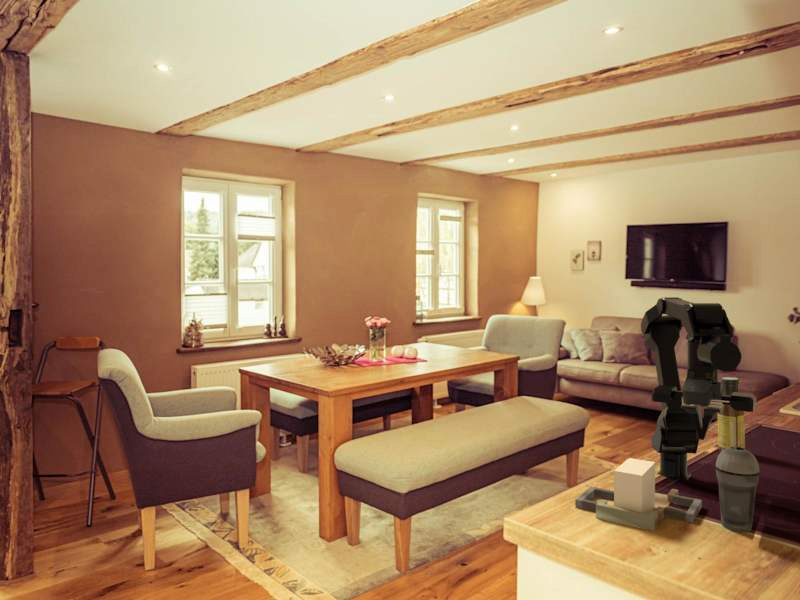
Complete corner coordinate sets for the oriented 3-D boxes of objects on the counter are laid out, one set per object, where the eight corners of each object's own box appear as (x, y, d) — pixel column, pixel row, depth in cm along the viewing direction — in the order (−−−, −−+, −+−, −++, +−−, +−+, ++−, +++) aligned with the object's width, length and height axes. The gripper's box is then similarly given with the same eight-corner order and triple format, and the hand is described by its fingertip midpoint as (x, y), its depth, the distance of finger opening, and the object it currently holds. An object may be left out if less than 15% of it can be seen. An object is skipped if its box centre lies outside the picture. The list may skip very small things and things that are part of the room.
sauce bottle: (738, 449, 163) (739, 376, 163) (749, 456, 157) (750, 380, 156) (712, 449, 164) (713, 376, 163) (722, 455, 158) (724, 379, 157)
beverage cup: (735, 542, 106) (737, 429, 105) (704, 526, 113) (706, 420, 112) (769, 538, 108) (771, 426, 107) (736, 522, 115) (738, 417, 114)
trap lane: (603, 487, 134) (603, 471, 134) (704, 507, 123) (705, 489, 122) (569, 516, 118) (570, 499, 118) (683, 543, 106) (684, 523, 106)
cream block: (628, 501, 123) (629, 457, 123) (654, 507, 120) (655, 462, 120) (613, 517, 115) (614, 470, 114) (641, 523, 112) (642, 475, 112)
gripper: (645, 365, 124) (644, 441, 124) (750, 373, 113) (749, 456, 113) (658, 359, 133) (657, 429, 133) (756, 365, 122) (755, 442, 122)
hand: (701, 439), depth 125 cm, fingers closed
